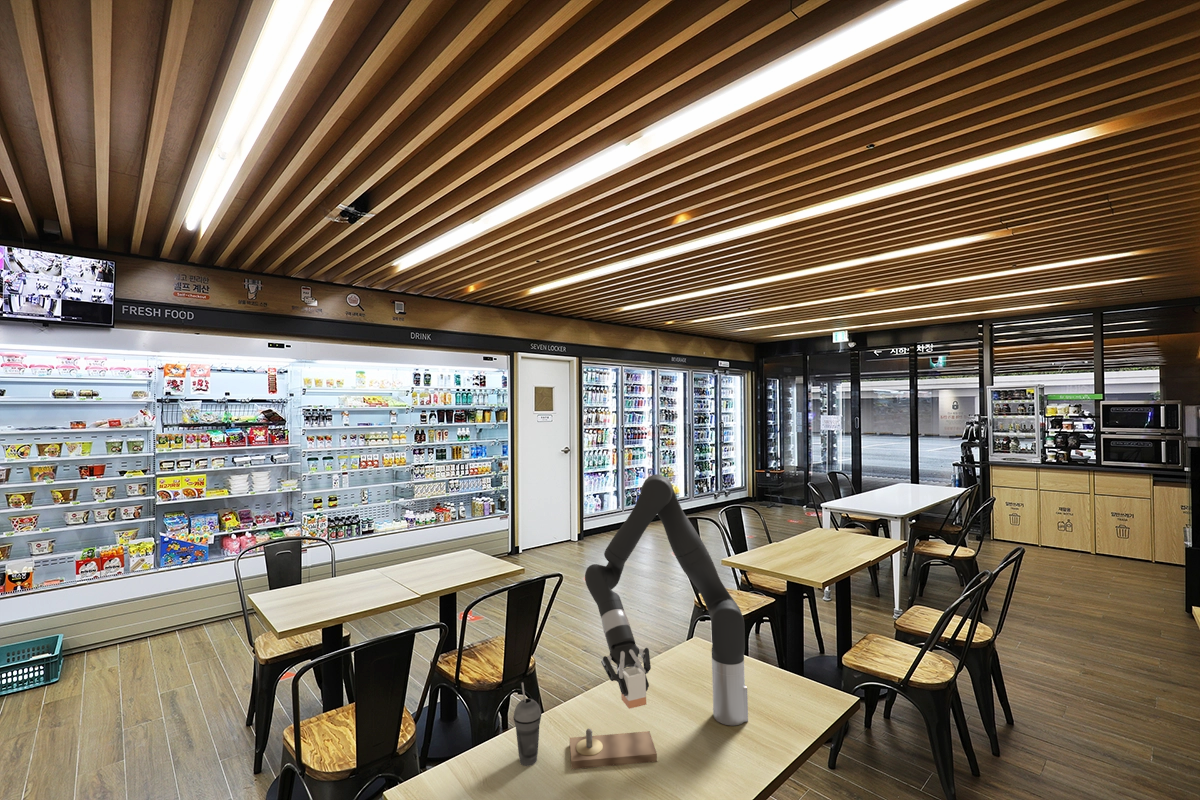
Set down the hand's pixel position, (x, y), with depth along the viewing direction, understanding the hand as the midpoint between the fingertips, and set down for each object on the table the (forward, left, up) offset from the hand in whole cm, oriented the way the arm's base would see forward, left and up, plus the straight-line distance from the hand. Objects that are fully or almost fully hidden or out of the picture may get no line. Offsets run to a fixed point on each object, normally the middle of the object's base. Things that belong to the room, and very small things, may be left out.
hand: (636, 692), depth 144 cm
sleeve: (0, -2, -3) cm, 4 cm away
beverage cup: (+29, -2, -17) cm, 33 cm away
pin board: (+7, -2, -16) cm, 18 cm away
